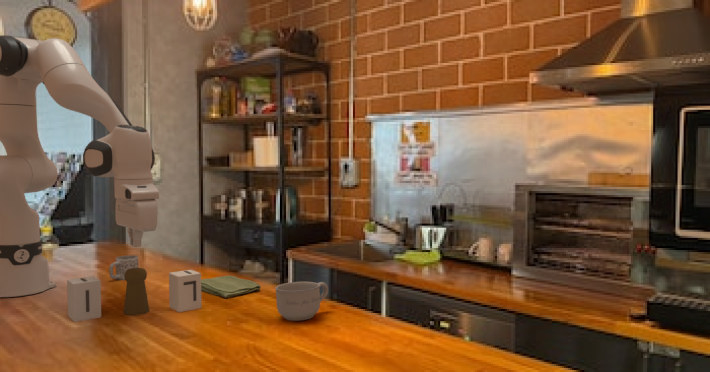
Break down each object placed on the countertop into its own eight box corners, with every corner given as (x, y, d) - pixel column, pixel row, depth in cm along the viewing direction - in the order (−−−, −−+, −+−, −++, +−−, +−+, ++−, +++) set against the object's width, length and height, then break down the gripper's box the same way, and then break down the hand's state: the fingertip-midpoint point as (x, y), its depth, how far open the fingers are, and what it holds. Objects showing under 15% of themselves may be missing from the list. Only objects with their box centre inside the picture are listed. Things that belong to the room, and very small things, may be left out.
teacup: (284, 327, 125) (284, 292, 124) (269, 314, 134) (269, 282, 134) (339, 318, 131) (339, 285, 131) (321, 307, 141) (321, 276, 140)
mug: (128, 274, 179) (127, 254, 178) (143, 276, 176) (142, 256, 175) (102, 281, 170) (101, 260, 169) (117, 283, 167) (117, 261, 166)
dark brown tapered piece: (140, 316, 133) (139, 271, 132) (118, 314, 134) (117, 270, 133) (154, 309, 139) (153, 266, 138) (132, 307, 140) (131, 265, 139)
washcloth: (226, 301, 148) (225, 289, 148) (190, 290, 160) (190, 279, 160) (264, 292, 158) (264, 281, 158) (228, 282, 170) (228, 272, 169)
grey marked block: (68, 316, 133) (66, 279, 132) (94, 311, 137) (93, 275, 136) (74, 322, 128) (73, 283, 127) (101, 317, 132) (100, 279, 131)
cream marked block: (169, 307, 141) (168, 272, 140) (191, 303, 145) (191, 269, 144) (178, 312, 136) (178, 276, 135) (201, 308, 140) (201, 272, 139)
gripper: (108, 189, 140) (109, 242, 141) (134, 193, 125) (136, 253, 126) (133, 188, 145) (134, 240, 145) (161, 191, 129) (163, 249, 130)
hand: (135, 246), depth 135 cm, fingers closed
